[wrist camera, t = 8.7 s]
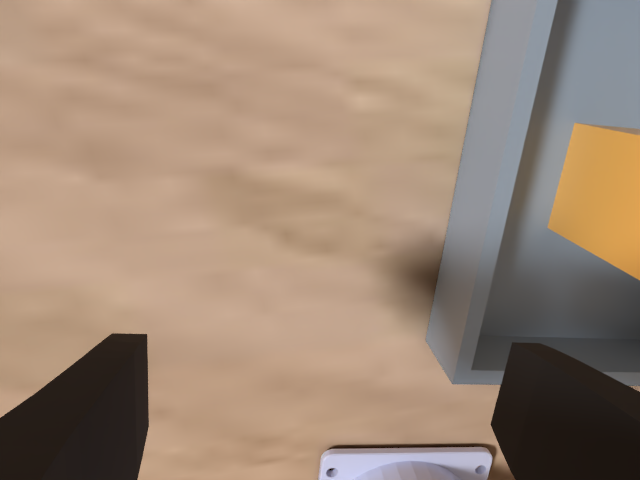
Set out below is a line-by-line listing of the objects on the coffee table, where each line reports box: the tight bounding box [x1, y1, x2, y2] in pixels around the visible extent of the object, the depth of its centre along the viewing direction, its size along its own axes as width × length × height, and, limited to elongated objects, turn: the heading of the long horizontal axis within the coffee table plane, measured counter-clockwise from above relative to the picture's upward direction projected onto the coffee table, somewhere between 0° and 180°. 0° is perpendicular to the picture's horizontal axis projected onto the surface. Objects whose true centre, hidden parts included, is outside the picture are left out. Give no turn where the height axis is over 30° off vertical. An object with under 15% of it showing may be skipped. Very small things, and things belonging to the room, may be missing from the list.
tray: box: [426, 0, 640, 386], centre depth 18 cm, size 15×10×3 cm
